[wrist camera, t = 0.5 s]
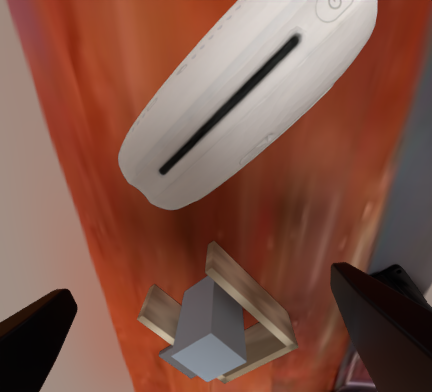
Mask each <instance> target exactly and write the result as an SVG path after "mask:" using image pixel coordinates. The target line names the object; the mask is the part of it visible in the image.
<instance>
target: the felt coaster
mask: <svg viewBox="0 0 432 392" xmlns="http://www.w3.org/2000/svg"><path fill="white" fill-rule="evenodd" d="M172 349H173V345H170V346H169V347H167V348H165V349H164V350H162V351H160V352H159V357H161V358H162V359H164V360H165V361H166V362H168V363H169V364H171V365H172V366H174V367H175V368H176V369H178V370H179V371H181V372H182V373H184V374H185V375H187V376H188V377H189V378H193V377H195V376H197V375H196V374H195V373H194V372H192V371H191V370H189V369H188V368H187V367H185V366H184V365H182V364H181V363H180V362H178V361H177V360H175V359H174V358H173V357H171V354H172Z"/></svg>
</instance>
